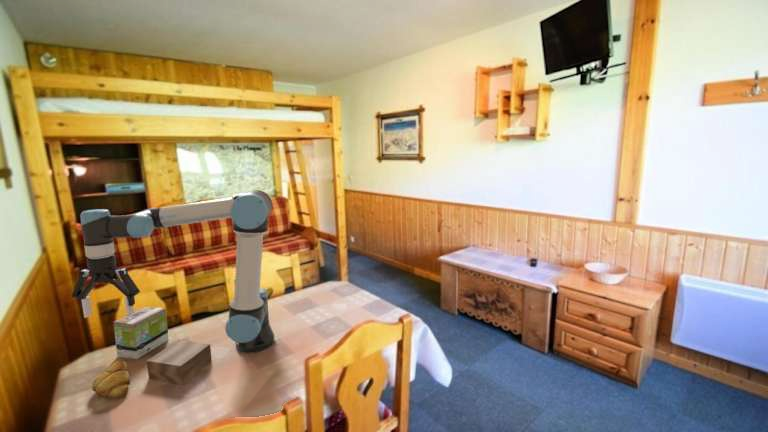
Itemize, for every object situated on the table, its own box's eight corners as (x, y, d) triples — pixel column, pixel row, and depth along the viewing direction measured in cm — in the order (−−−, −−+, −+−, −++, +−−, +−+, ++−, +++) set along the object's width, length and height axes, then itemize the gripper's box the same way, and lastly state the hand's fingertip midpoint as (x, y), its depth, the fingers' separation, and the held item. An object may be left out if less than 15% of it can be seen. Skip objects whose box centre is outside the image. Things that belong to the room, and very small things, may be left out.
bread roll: (135, 394, 113) (132, 372, 111) (97, 409, 106) (93, 386, 104) (127, 376, 121) (124, 356, 120) (92, 389, 115) (88, 368, 113)
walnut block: (211, 361, 131) (210, 344, 129) (183, 384, 117) (180, 366, 116) (180, 356, 133) (178, 339, 132) (148, 379, 120) (146, 360, 119)
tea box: (138, 360, 131) (133, 324, 129) (116, 357, 133) (111, 321, 131) (169, 339, 146) (166, 307, 143) (150, 337, 148) (145, 305, 145)
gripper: (146, 251, 119) (153, 309, 123) (70, 253, 117) (79, 311, 121) (133, 258, 112) (141, 318, 116) (51, 259, 110) (61, 321, 114)
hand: (109, 315), depth 118 cm, fingers open, 13 cm apart
